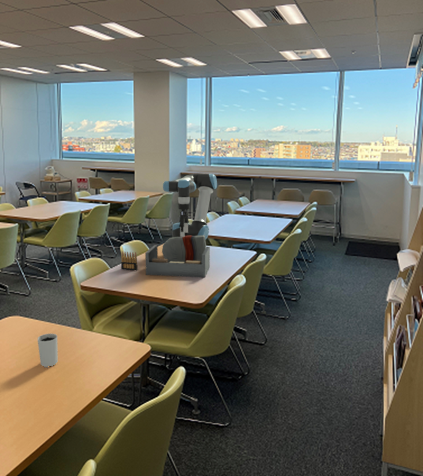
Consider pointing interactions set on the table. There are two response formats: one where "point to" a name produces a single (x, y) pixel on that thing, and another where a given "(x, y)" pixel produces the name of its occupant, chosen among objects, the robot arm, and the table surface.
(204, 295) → the table surface
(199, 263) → the teak offcut
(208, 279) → the table surface
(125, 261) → the ammunition clip
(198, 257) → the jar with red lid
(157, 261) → the walnut offcut
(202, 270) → the rack
